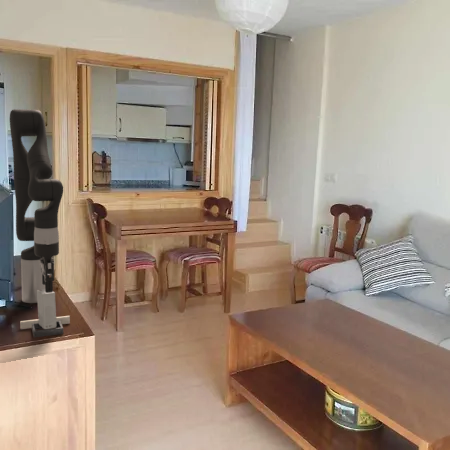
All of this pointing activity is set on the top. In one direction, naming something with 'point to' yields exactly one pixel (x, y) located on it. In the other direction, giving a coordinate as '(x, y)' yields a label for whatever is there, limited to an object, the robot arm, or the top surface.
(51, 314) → the skincare box
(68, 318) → the door edge rail
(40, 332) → the frame
